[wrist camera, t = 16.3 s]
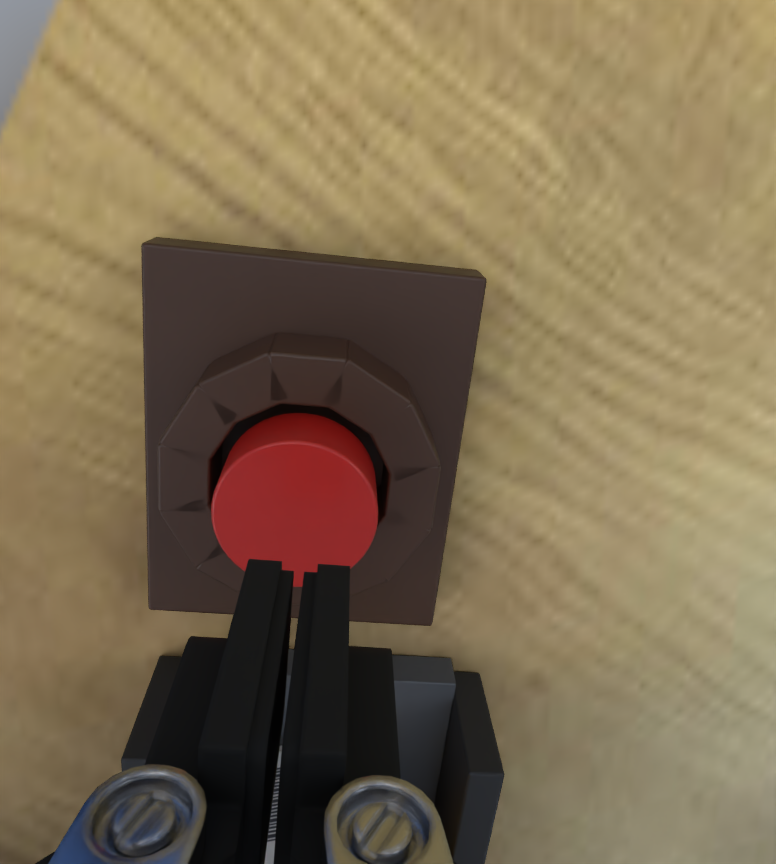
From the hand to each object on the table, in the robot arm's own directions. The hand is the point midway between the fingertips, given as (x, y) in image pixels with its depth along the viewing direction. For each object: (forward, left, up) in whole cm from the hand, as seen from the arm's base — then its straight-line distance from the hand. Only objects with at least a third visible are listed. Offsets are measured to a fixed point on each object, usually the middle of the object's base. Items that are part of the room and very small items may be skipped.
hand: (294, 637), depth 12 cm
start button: (0, 0, -6) cm, 6 cm away
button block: (0, 0, -8) cm, 8 cm away
